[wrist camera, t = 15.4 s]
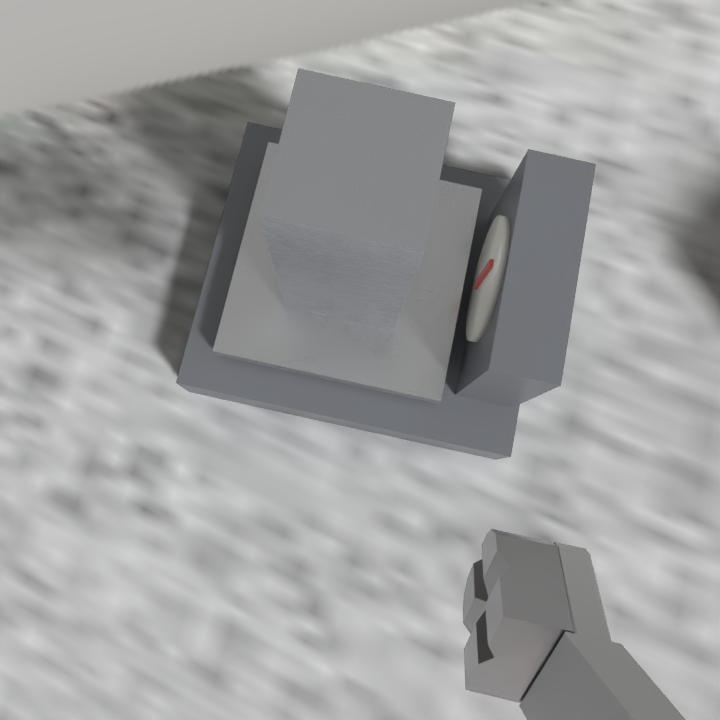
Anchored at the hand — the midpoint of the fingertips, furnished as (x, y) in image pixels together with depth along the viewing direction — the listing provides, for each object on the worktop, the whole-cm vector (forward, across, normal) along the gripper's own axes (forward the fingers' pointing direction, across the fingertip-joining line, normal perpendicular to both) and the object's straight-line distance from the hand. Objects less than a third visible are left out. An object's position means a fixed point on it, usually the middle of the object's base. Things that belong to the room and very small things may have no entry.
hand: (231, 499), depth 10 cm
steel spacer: (+17, -1, +4) cm, 18 cm away
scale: (+20, -1, +6) cm, 21 cm away
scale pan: (+18, -1, +4) cm, 18 cm away
